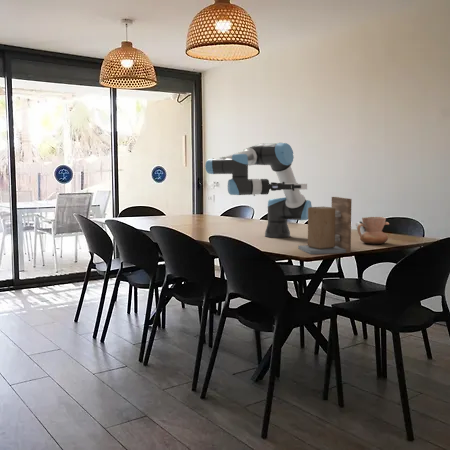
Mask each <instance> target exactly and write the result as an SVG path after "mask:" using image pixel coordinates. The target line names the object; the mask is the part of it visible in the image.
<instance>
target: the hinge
mask: <svg viewBox="0 0 450 450" xmlns="http://www.w3.org/2000/svg"><path fill="white" fill-rule="evenodd" d="M359 224H363V221H362V220H360V221H357V222H355V228H356V231H357V232H358V230H357V227H358V225H359ZM360 232H361V234H363V233H365V232H366V229H365V227H363V226H361V227H360Z"/></svg>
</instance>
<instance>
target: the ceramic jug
mask: <svg viewBox="0 0 450 450" xmlns="http://www.w3.org/2000/svg"><path fill="white" fill-rule="evenodd" d="M361 219H362V220H361V221H363V224H359V225H358V227H357V228H356V231H357V230H358V231H357V233H358V235H359V240H360V241H361V242H363V243H365V244H368V245H382V244H384V243H386V242H388V239H389V237H388V235H387V234H386V233H385V232H384V231H383V230H384V227H385V226H386V225H387V226H389V225H390V223H389V222H388V221H386V220H387V218H386V217H384V216H368V217H367V216H366V217H362V218H361ZM361 226H363V227H365V229H366V232H365V233H363V234H361V232H360V227H361Z"/></svg>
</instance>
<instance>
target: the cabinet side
mask: <svg viewBox="0 0 450 450" xmlns="http://www.w3.org/2000/svg"><path fill="white" fill-rule="evenodd" d="M331 207H333V208H335V246H337V247H340V248H343V249H346V253H345V254H351V252H352V251H351V249H352V247H351V245H352V244H351V243H352V198H347V197H341V196H340V197H339V196H331Z"/></svg>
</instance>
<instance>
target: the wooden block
mask: <svg viewBox="0 0 450 450" xmlns="http://www.w3.org/2000/svg"><path fill="white" fill-rule="evenodd" d="M307 245H308V247H311V248H316V249H328V248H334V247H335V208H333V207H332V206H312V207H310V208H308V219H307Z"/></svg>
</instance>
